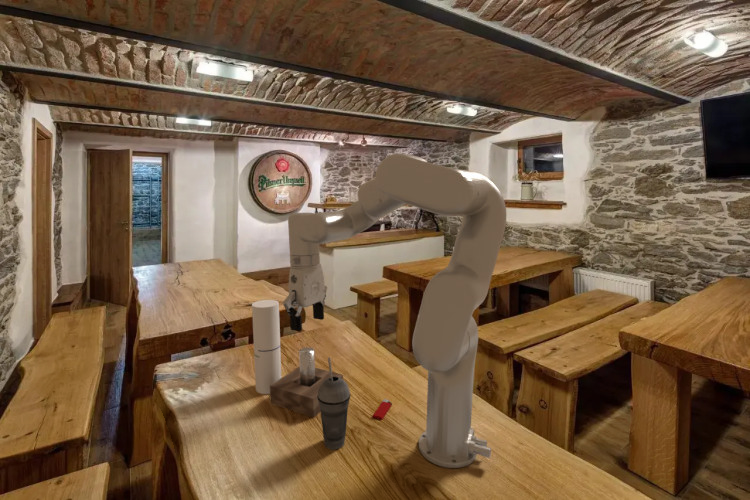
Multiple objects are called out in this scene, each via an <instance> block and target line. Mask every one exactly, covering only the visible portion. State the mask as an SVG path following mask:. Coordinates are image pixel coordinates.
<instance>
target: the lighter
mask: <svg viewBox="0 0 750 500" xmlns="http://www.w3.org/2000/svg"><path fill="white" fill-rule="evenodd" d="M392 406H393V403H392V402H391V401H390V400H389V399H386V398H384V399H382V401H381V402H380V404H379V405H378V407H377V408H376V410H375V411H374V413H373V414H372V415H371V417H372V418H373V419H377V420H381V421H383V419H384V418H385V416H386V415H387V413H388V412H389V411H390V409H391V407H392Z"/></svg>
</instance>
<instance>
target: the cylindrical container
mask: <svg viewBox="0 0 750 500" xmlns="http://www.w3.org/2000/svg"><path fill="white" fill-rule="evenodd" d="M251 311H252V312H251V313H252V332H253V333H252V334H253V335H252V336H253V337H252V339H253V353H254V354H253V357H254V358H253V359H254V376H255V377H254V378H255V392H257V393H258V394H260V395H270V385H272V384H273V383H275V382H276V381H278V380H279V379H281V378H282V357H281V333H280V332H281V329H280V327H281V326H280V303H279V301H278V300H274V299H262V300H257V301H254V302H252V303H251Z"/></svg>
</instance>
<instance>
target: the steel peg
mask: <svg viewBox="0 0 750 500" xmlns="http://www.w3.org/2000/svg"><path fill="white" fill-rule="evenodd" d="M298 352H299V366H300V385H304V386H307V387H311V386H312V385H313V384H315V368H316V366H315V364H316V363H315V360H316V357H315V355H316V354H315V348H313V347H309V346H308V347H303V348H301V349H299V351H298Z"/></svg>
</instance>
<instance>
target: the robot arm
mask: <svg viewBox="0 0 750 500" xmlns="http://www.w3.org/2000/svg"><path fill="white" fill-rule="evenodd" d="M357 198H358V199H357V201H355V202H354V203H352V204H350V205H349V206H347V207H345V208H343V209H341V210H334V211H323V212H315V213H313V212H293V213H290V214H289V215H288V218H287V223H288V244H289V246H288V247H289V262H290V263H289V264H290V266H289V267H290V268H289V274H288V296H286V298H285V299H284V300H283V301H282V304H283V307H284V309H285V312H286V313H287V314H288V316H289V322H290V323H289V324H290V325H289V326H290V330H291V331H296V332H301V331H303V319H302V315H301V311H302V309H303V308H308V307H310V306H312V316H313V319H314V320H315V319H316V320H320V321H323V320H324V319H325V314H324V313H325V311H324V308H325V307H324V305H325V299H326V298H327V295H326V294H327V290H328V287H327V286H326V284H325V279H324V277H325V276H324V271H323V267H322V264H321V263H320V262H321V259H320V257H321V255H320V245H324V244H330V243H333V242H339V241H344V240H348V239H350V238H352V237H355V236H356V235H358V234H360V233H362V232H364V231H366V230H368V229H369V228H371V227H372V226H375V224H376V223H377V222H378V221H380V220H381V218H383V217H385V216H387V215H389V214H391V213H393V212H395V211H396V210H398V209H400V208H402V207H404V206H406V205H408V206H412V207H415V208H418V209H420V210H423V211H427V212H430V213H432V214H435V215H439V216H444V217H458V216H462V223H461V226H460V228H459V230H458V233H457V234H456V239H455V242H454V246H453V250H452V253H451V256H450V259H449V263H448V264H447V266H446V267H445V268H443V269H441V270H440V271H438V272H437V273H435V274H434V275H433V276H432V278H430V280H429V281H428V283H427V285H426V287H425V288H424V289H425V290H424V293H423V295H422V299H421V304H420V307H419V310H418V314H417V319H416V322H415V327H414V331H413V334H412V341H411V343H412V344H411V345H412V346H411V347H412V352H413V355H414V358H415V360H416V361H417V363H418V364H419V365H420V366H421V367H422V368H423V369H425V371H426V370H427V371H428V372H427V395H426V396H427V397H426V398H427V399H426V402H427V403H426V427H425V428H426V430H425V431H423V432H422V433H421V434H420V436H419V439H418V448H419V452H420V453H421V455H422V456H423V457H424V458H425V459H427V460H428V462H430V463H432V464H434V465H437V466H439V467H443V468H450V469H458V468H463V467H466V466H469V465H471V464H472V463H473V462H474V461H475V460H476V458H477V455H479V456H482V457H484V458H488V459H490V458H491V455H492V448H491V447H489V446H488V440H485V439H481V438H478V437H477V436H475V429H474V428H473V427H472V413H473V412H472V411H473V394H474V378H475V377H474V376H475V374H474V373H475V367H476V366H475V364H476V356H477V351H478V345H479V344H478V343H479V328H478V325H477V322H476V320H475V318H474V317H473V314H474V311H475V310H476V309H477V308H479V307H480V305H482V304H483V303H484V301H485V300H486V297H487V295H488V293H489V288H490V284H491V280H492V276H493V274H494V270H495V267H496V264H497V260H498V256H499V251H500V248H501V245H502V242H503V239H504V238H503V237H504V235H505V231H506V226H507V207H506V203H505V200H504V197H503V194H502V193H501V191H500V189H499V188H498V187H497V186H496V184H494V182H492V180H490V179H489V178H488V177H486V176H484V175H483V174H481V173H479V172H476V171H473V170H468V169H467V170H466V169H458V168H454V167H448V166H444V165H441V164H436V163H433V162H428V161H427V160H426V159H424V158H422V157H421V156H417V155H413V154H412V155H411V154H405V153H393V154H390V155H388V156H387V157H385V158H383V160H382V161H380V163H379V164H378V166H377V168H376V171H375V176H374V177H373V178H371V179H370V180H368V181H366V182H365V183H363V184H362V185H360V187H358V191H357Z"/></svg>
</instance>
